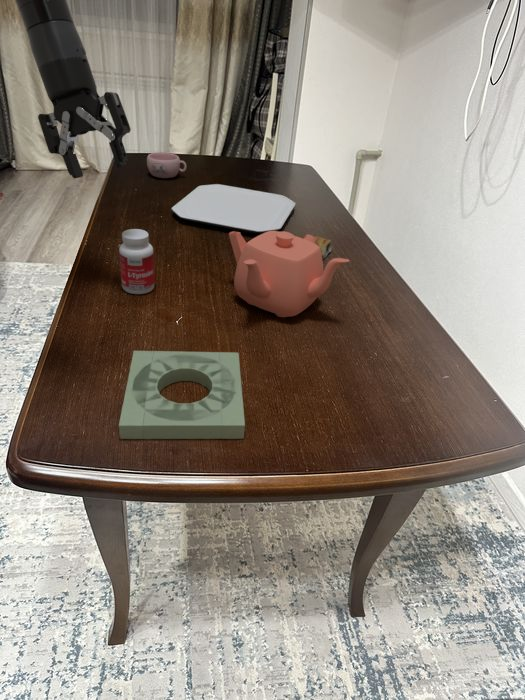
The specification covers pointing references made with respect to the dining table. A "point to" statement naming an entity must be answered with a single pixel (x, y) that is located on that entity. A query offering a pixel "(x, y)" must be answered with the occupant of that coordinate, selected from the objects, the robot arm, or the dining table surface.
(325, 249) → the pastry
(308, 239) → the teapot
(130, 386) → the socket pad
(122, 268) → the pill bottle
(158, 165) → the mug
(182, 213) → the plate
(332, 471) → the dining table surface
